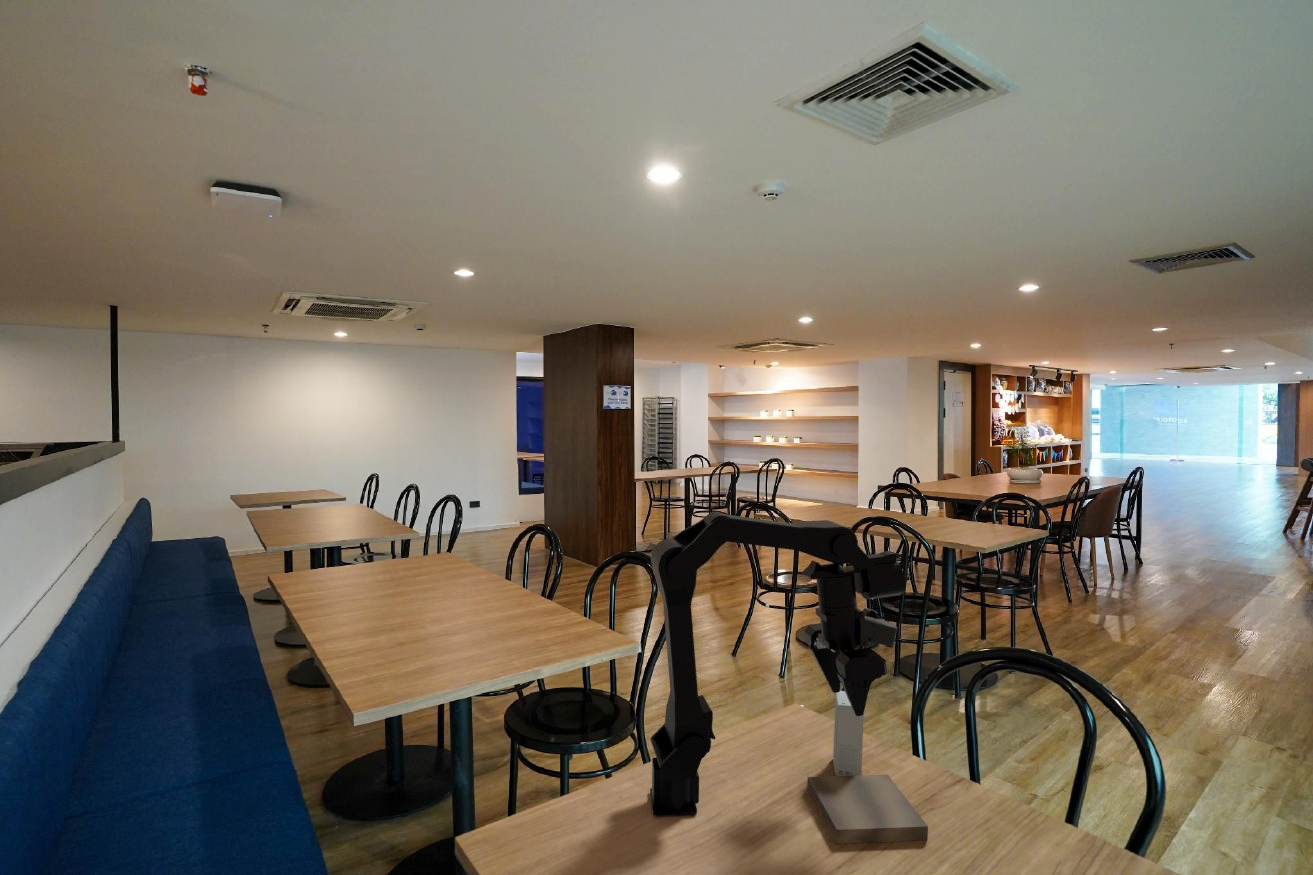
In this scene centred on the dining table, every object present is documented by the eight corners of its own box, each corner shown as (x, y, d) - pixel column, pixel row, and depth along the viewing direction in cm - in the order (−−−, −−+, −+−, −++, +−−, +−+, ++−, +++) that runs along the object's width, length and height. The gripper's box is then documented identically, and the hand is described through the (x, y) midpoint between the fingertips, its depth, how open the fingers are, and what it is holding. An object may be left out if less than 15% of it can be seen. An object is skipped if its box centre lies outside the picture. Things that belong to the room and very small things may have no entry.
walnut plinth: (836, 843, 91) (837, 829, 91) (807, 789, 104) (807, 776, 104) (927, 840, 92) (928, 826, 92) (887, 786, 105) (887, 774, 105)
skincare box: (862, 780, 107) (864, 707, 106) (834, 777, 108) (837, 705, 107) (858, 760, 113) (860, 691, 112) (832, 757, 114) (834, 689, 113)
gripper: (916, 612, 94) (927, 721, 94) (862, 584, 113) (871, 675, 113) (841, 621, 93) (852, 732, 93) (799, 592, 112) (808, 684, 112)
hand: (847, 703), depth 103 cm, fingers open, 9 cm apart
